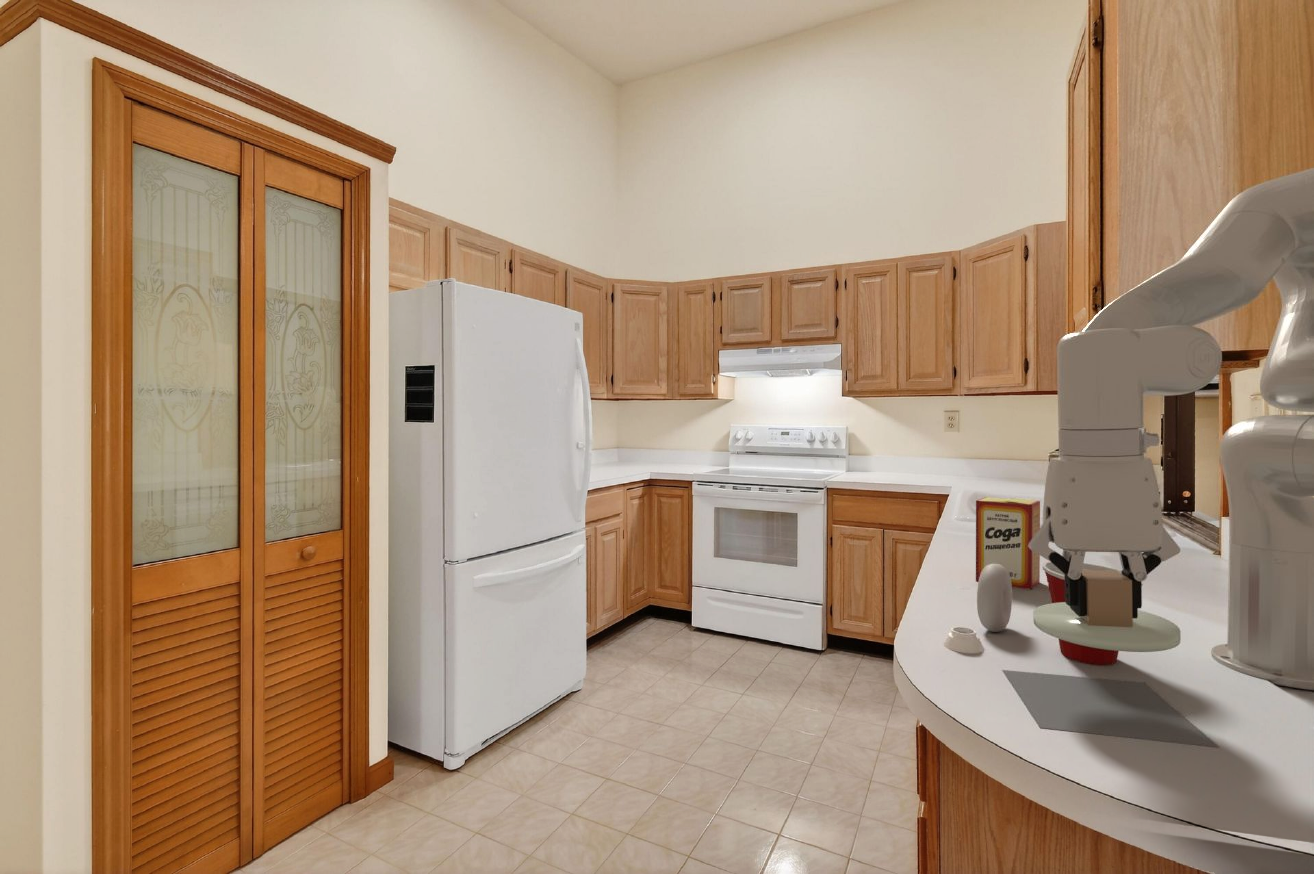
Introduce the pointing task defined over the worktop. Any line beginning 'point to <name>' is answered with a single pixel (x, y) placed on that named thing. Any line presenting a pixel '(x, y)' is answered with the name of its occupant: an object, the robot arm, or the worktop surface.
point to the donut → (994, 597)
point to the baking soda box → (1008, 538)
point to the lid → (1108, 618)
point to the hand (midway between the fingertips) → (1102, 611)
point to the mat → (1103, 708)
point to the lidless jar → (963, 640)
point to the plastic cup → (1058, 595)
